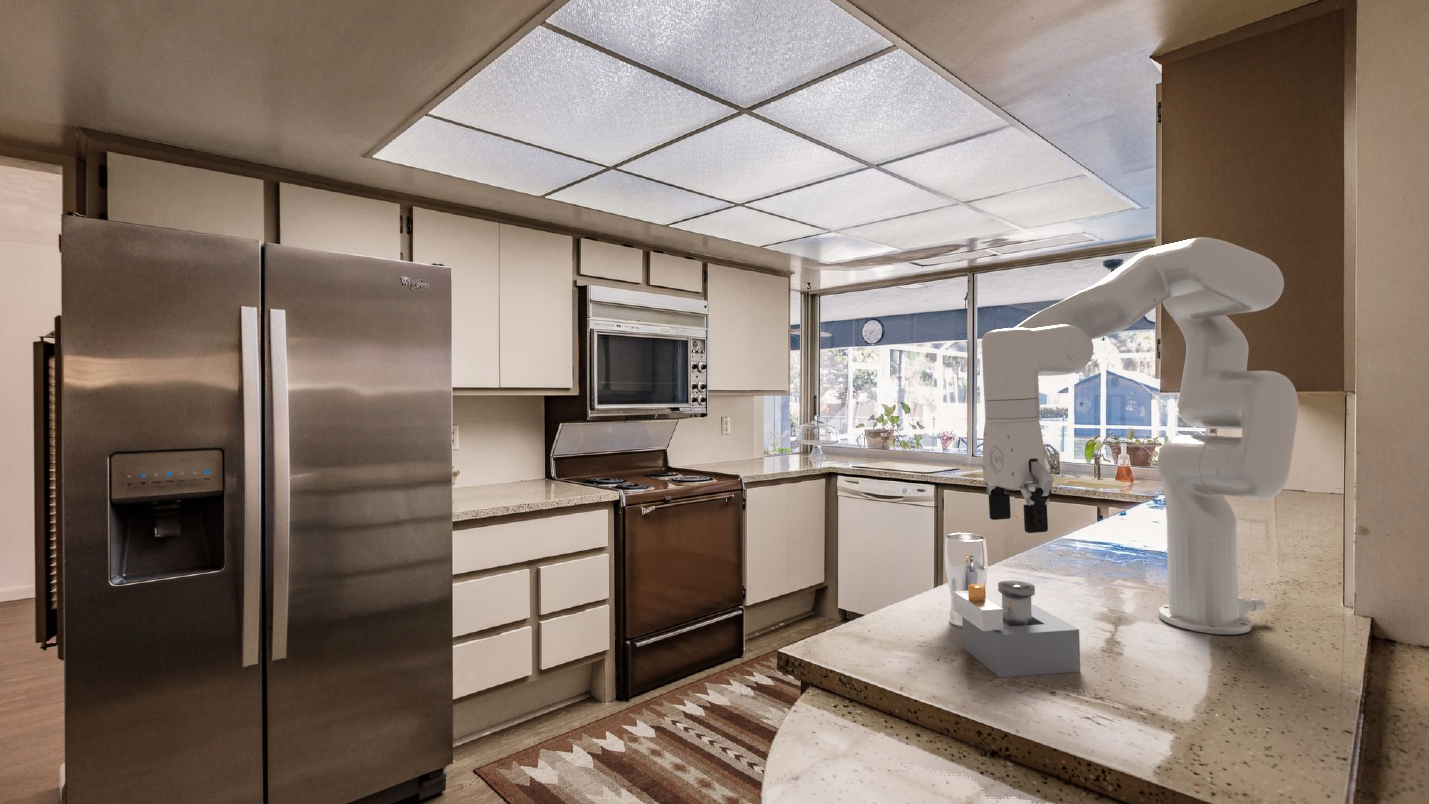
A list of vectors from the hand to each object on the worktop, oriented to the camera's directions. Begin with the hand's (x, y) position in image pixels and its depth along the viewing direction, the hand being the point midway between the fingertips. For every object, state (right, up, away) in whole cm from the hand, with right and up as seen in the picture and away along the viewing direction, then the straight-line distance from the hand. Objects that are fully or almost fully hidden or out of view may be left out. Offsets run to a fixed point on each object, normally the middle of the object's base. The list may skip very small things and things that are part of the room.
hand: (1017, 525), depth 98 cm
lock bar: (-6, -14, -1) cm, 15 cm away
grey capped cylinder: (0, -19, 0) cm, 19 cm away
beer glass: (-1, -20, +16) cm, 26 cm away
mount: (0, -20, 0) cm, 20 cm away
